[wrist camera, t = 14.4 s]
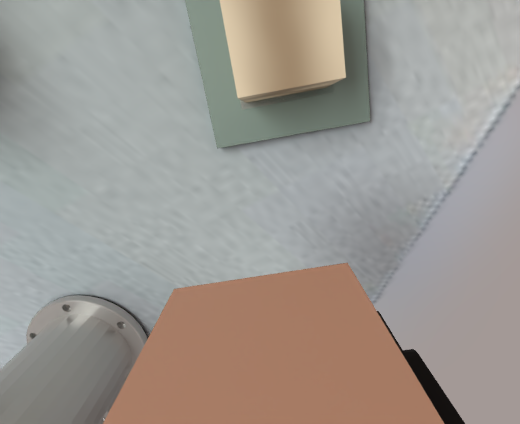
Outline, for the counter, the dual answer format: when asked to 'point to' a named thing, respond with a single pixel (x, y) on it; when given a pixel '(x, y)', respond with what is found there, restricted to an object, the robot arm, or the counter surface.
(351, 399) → the terracotta block
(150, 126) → the counter surface
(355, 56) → the plate
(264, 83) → the maple block
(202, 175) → the counter surface
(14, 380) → the robot arm
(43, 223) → the counter surface
